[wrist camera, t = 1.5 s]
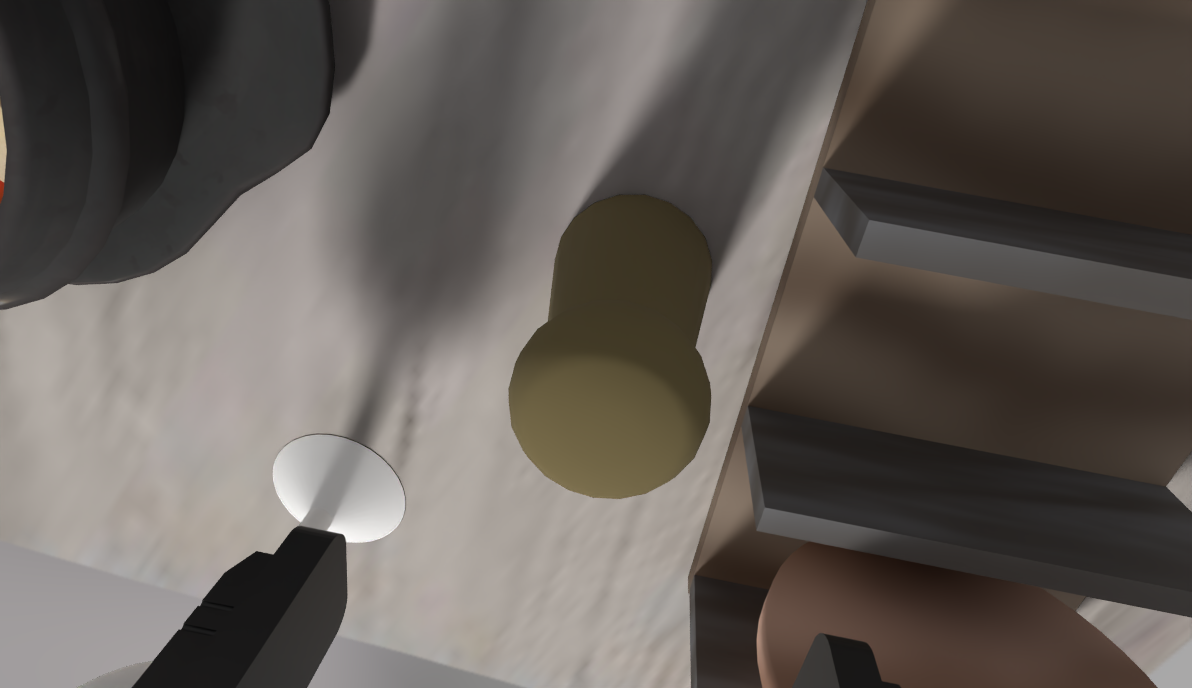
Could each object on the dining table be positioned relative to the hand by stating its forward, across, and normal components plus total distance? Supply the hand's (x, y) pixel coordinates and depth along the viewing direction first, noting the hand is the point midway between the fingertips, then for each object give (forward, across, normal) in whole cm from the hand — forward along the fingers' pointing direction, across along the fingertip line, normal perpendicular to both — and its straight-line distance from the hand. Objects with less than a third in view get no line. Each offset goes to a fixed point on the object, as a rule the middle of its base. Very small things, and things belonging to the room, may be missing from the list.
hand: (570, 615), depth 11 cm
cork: (+16, 0, 0) cm, 16 cm away
